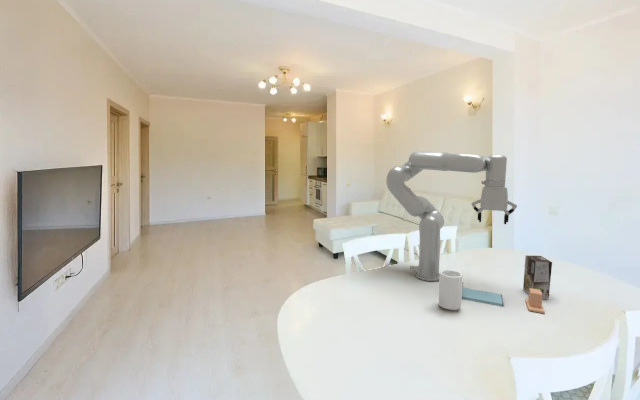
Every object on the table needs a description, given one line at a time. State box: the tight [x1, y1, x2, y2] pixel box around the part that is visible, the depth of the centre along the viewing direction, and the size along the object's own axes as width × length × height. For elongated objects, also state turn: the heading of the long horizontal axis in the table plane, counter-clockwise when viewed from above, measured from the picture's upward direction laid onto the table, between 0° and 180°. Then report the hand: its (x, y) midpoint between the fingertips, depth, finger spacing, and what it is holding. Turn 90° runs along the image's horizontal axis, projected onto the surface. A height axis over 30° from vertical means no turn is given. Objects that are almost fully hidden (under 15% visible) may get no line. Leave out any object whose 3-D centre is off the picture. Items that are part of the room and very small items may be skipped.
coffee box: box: [522, 255, 553, 300], centre depth 129 cm, size 9×6×16 cm
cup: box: [438, 269, 464, 311], centre depth 118 cm, size 8×8×14 cm
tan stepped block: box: [524, 288, 545, 314], centre depth 118 cm, size 5×10×6 cm, turn 152°
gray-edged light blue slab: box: [462, 287, 504, 307], centre depth 128 cm, size 18×13×3 cm
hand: (492, 222), depth 133 cm, fingers open, 9 cm apart
